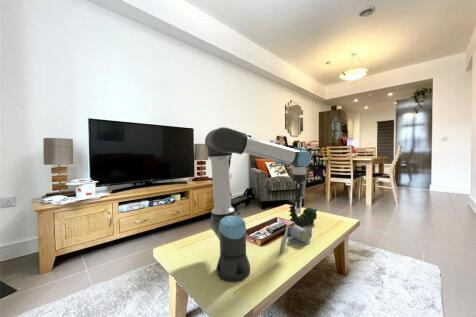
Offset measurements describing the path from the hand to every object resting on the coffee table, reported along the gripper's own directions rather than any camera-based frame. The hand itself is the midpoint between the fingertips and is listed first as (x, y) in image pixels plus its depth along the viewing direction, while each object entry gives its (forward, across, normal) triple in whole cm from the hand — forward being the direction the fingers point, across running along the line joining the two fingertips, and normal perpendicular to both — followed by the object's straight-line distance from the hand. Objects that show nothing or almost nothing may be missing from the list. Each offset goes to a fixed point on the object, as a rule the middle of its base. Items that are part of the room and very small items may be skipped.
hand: (298, 210), depth 119 cm
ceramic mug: (+18, +1, -1) cm, 18 cm away
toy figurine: (+18, +28, -3) cm, 34 cm away
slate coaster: (+18, 0, 0) cm, 18 cm away
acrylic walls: (+18, -5, 0) cm, 19 cm away
